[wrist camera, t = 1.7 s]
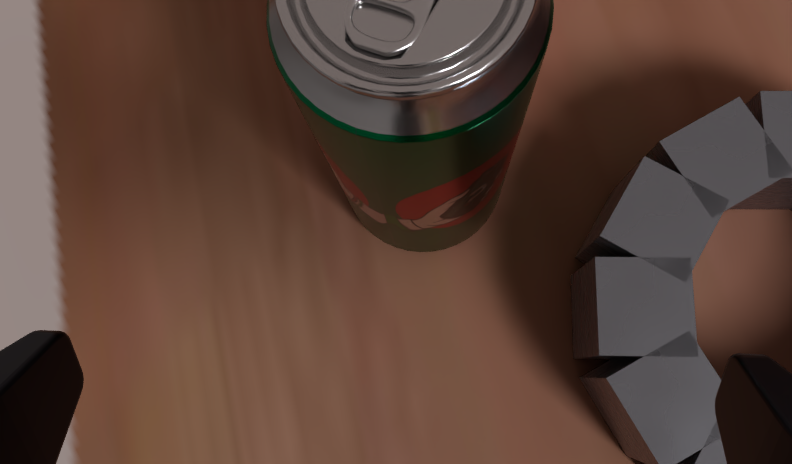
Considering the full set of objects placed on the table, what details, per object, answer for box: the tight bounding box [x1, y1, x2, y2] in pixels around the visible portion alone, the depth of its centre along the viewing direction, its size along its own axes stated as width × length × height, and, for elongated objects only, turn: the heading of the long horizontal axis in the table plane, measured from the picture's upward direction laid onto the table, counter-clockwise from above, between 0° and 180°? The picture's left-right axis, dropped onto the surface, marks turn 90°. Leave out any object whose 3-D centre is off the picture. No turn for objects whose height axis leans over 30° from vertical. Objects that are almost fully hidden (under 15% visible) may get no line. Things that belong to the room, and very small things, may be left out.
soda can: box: [267, 0, 554, 252], centre depth 17 cm, size 5×5×12 cm
